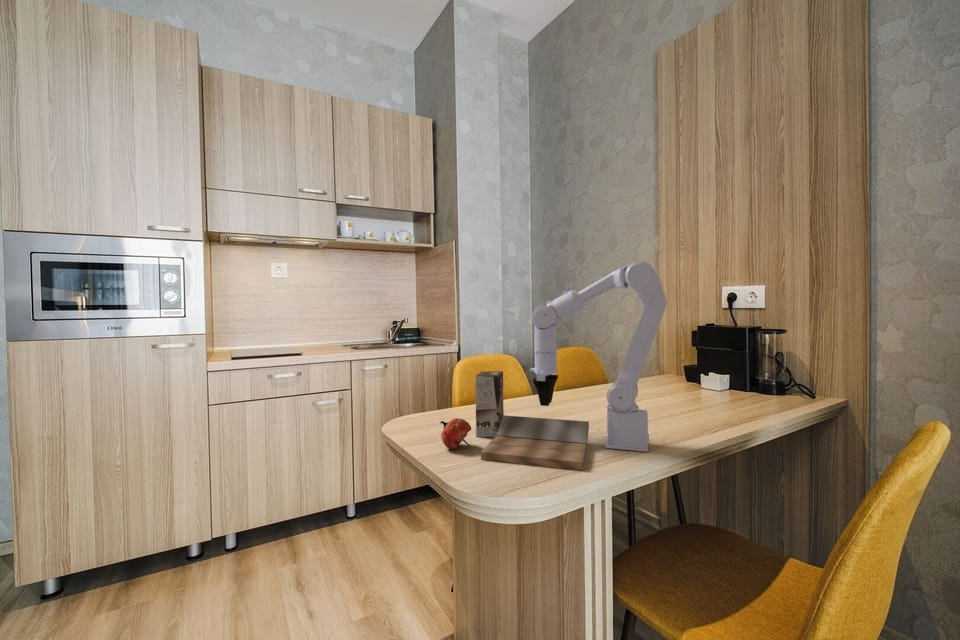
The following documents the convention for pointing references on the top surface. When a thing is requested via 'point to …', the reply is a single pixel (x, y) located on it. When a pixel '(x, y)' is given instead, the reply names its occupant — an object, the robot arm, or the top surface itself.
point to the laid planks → (536, 452)
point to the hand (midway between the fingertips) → (546, 404)
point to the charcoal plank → (544, 429)
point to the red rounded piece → (455, 432)
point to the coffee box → (489, 403)
